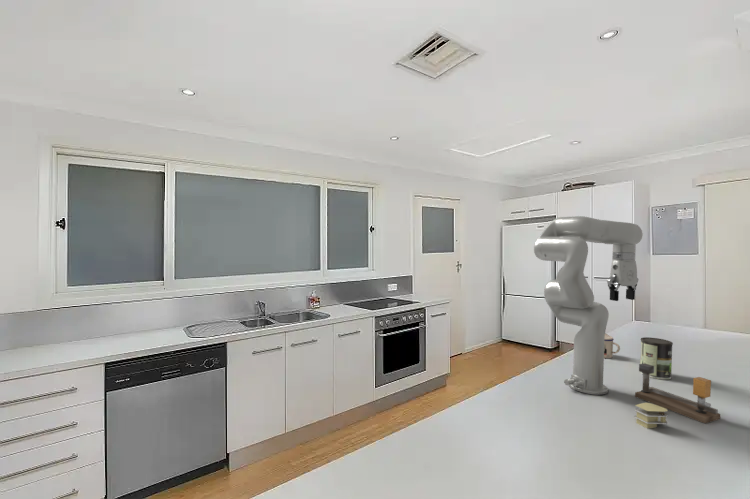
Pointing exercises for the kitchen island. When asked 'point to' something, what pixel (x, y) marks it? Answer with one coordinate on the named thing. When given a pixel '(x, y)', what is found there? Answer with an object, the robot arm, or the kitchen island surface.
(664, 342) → the coffee can
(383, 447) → the kitchen island surface
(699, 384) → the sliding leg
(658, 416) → the stacked layers on plate
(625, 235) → the robot arm
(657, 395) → the brown wooden stand
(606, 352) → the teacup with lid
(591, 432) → the kitchen island surface
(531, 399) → the kitchen island surface
